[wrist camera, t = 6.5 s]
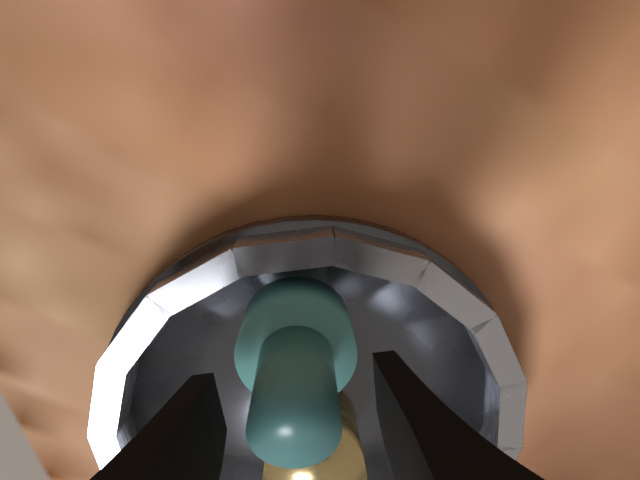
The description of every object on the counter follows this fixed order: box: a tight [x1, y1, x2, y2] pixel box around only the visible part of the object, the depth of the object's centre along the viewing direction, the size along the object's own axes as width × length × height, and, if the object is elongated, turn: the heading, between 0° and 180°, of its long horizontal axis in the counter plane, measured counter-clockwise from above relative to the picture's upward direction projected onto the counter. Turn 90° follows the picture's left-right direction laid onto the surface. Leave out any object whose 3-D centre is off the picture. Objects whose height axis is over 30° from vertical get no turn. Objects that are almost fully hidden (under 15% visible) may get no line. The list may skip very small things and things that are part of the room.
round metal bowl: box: [87, 215, 527, 480], centre depth 14 cm, size 17×17×4 cm
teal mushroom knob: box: [234, 276, 357, 469], centre depth 12 cm, size 4×4×5 cm
